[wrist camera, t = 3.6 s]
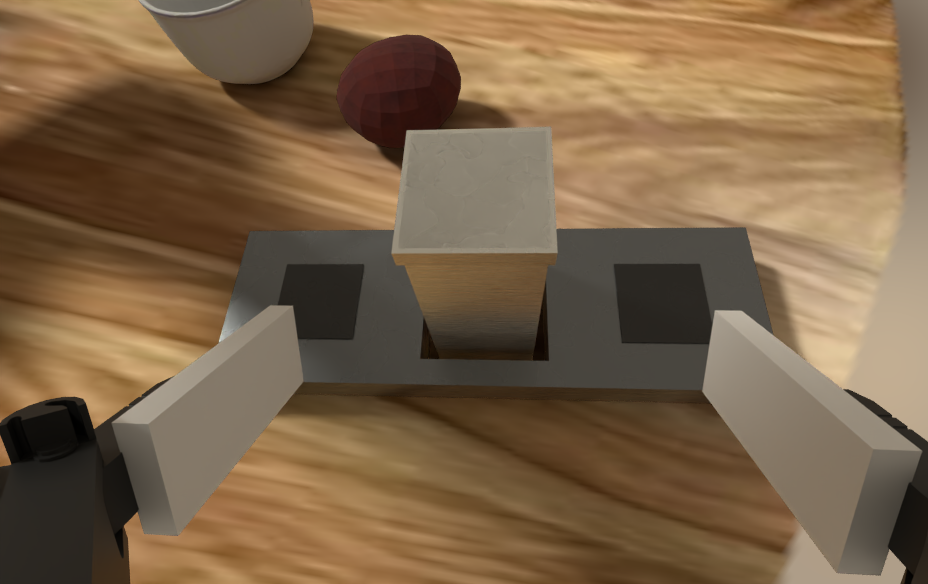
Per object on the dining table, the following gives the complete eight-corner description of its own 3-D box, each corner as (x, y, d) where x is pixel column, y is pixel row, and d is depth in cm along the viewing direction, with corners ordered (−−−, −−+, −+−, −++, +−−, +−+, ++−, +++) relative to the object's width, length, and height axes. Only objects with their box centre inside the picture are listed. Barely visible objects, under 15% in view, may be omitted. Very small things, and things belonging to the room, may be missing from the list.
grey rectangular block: (436, 364, 27) (391, 253, 16) (442, 278, 29) (406, 130, 18) (535, 366, 26) (557, 252, 15) (533, 278, 28) (551, 126, 18)
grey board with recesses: (232, 392, 27) (206, 379, 24) (268, 252, 31) (249, 230, 28) (761, 404, 24) (789, 391, 22) (726, 251, 28) (746, 226, 26)
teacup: (353, 52, 39) (319, -56, 32) (241, 128, 36) (175, 28, 29) (258, -14, 44) (210, -121, 37) (153, 48, 41) (79, -54, 34)
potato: (467, 162, 33) (460, 90, 27) (347, 172, 33) (317, 103, 28) (462, 86, 36) (455, 8, 31) (354, 96, 36) (328, 21, 31)
